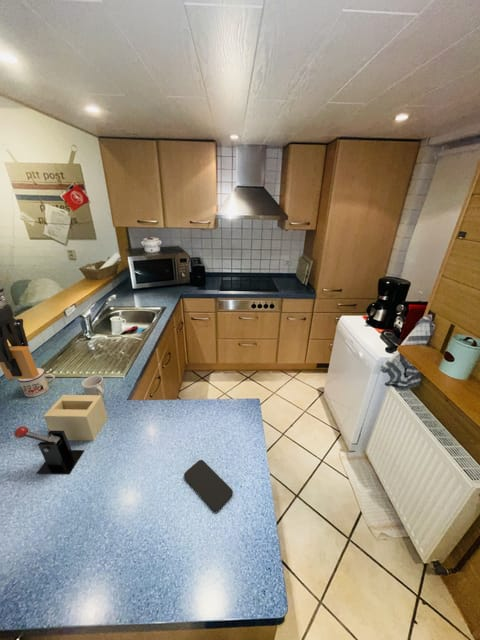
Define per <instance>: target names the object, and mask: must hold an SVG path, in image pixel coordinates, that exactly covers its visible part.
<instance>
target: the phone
mask: <svg viewBox="0 0 480 640" xmlns="http://www.w3.org/2000/svg"><path fill="white" fill-rule="evenodd" d="M183 477H184V479H185V481H186V482H187V483H188V484H189V485H190V486H191V487H192V489H193V490H194V491H195V492H196V493H197V494H198V496H200V498H201V499H202V500H203V501H204V502H205V504H206V505H207V506H208V507H209V508H210V510H211V511H212V512H213V513H214V512H215V513H217V512H218V511H220V510H221V509H222V508H223V507H224V506H225V504H226V503H227V502H228V501H229V500H230V499H231V498H232V497H233V494H234V492H233V489H232V487H231V486H229V485H228V484H227V482H225V481H224V480H223V479H222V477H220V476H219V474H217V472H215V471H214V469H212V468H211V466H209V465H208V464H207V463H206V462H205V461H204V460H203V459H199V460H198V461H196V462H195V463H194V464H193V465H192V466H191V467H189V468H188V469H186V471H185V472H184V473H183Z"/></svg>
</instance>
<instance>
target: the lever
mask: <svg viewBox="0 0 480 640" xmlns="http://www.w3.org/2000/svg"><path fill="white" fill-rule="evenodd" d="M13 435H14V437H15V438H17V439H22V438H25V437H26V438H30V439H32V440H36V441H39V442H55V443H56V445H58V444H59V442H60V439H61V438H60V437H57V436H54V435H51V436H50V437H49V436H46V435H42V434H39V433H36V432H32V431H29V427H27V426H25V425H24V426H23V425H22V426H19V427H17V428H15V430H14V431H13Z"/></svg>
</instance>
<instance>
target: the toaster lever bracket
mask: <svg viewBox="0 0 480 640" xmlns="http://www.w3.org/2000/svg"><path fill="white" fill-rule="evenodd" d="M47 435H48V437H50V436H51V435H54V436H57V437H60V438H61V439H60V442H59V444H58V445H56V443H55V442H43V441H39V442H38V444H37V446H38V449H39V450H40V452H41V454H42V456H43V458H44V462H43V464H42V465H41V466H40V468H39V469H38V471H36V472H35V473H36V475H71V474H72V471H73V470H74V468H75V467H76V465H77V463H78V462H79V460H80V459H81V457H82V456H83V455H84V453H85V449H72V447H71V445H70V442H69V440H67V437H66V435H65V432H64V431H50V430H48V432H47Z"/></svg>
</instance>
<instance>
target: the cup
mask: <svg viewBox="0 0 480 640" xmlns="http://www.w3.org/2000/svg"><path fill="white" fill-rule="evenodd" d="M81 387H82V390H83V391H84V395H102V398H104V397H105V394H106V389H105V381H104V377H103V376H102V375H99V374H98V375H97V374H96V375H91V376H88V377H86V378H85V379H83V381H82V382H81Z"/></svg>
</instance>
